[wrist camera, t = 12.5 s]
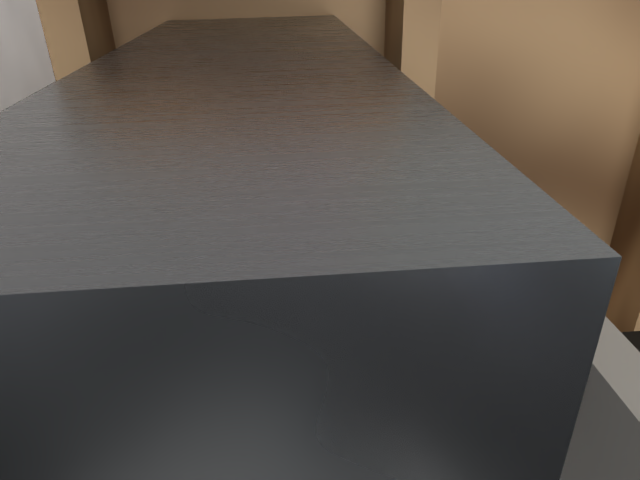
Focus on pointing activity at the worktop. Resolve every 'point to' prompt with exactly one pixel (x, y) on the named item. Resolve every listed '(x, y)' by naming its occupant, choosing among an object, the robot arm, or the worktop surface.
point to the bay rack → (468, 86)
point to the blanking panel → (280, 272)
